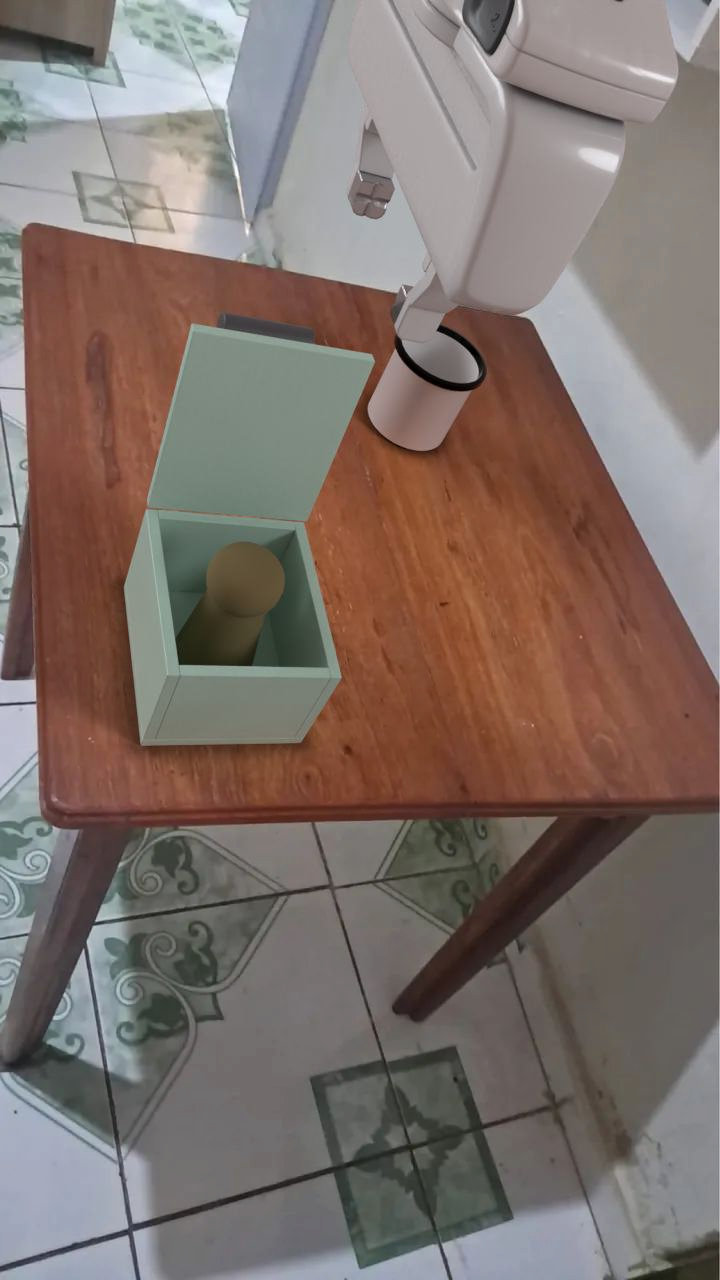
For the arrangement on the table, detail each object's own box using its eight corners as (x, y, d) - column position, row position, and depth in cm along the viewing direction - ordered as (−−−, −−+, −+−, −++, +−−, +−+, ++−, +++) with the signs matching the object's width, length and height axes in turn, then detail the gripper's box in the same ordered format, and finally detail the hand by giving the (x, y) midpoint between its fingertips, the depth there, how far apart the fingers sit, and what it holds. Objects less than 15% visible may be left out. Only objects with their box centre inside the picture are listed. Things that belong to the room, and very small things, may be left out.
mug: (396, 464, 92) (435, 392, 85) (343, 397, 95) (377, 323, 88) (481, 444, 99) (523, 377, 92) (430, 382, 102) (467, 313, 95)
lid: (375, 361, 59) (356, 313, 62) (193, 330, 55) (181, 279, 58) (307, 522, 69) (293, 473, 72) (147, 508, 65) (139, 456, 68)
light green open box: (300, 743, 69) (342, 677, 63) (140, 746, 64) (167, 675, 58) (269, 594, 76) (304, 522, 70) (123, 587, 72) (145, 508, 65)
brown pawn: (266, 656, 72) (313, 563, 64) (223, 707, 68) (267, 615, 60) (200, 610, 72) (239, 513, 64) (154, 659, 68) (188, 561, 60)
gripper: (383, -192, 39) (283, 132, 49) (539, 53, 28) (370, 403, 39) (512, -135, 42) (392, 161, 52) (700, 109, 31) (502, 423, 41)
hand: (383, 266), depth 45 cm, fingers open, 8 cm apart
